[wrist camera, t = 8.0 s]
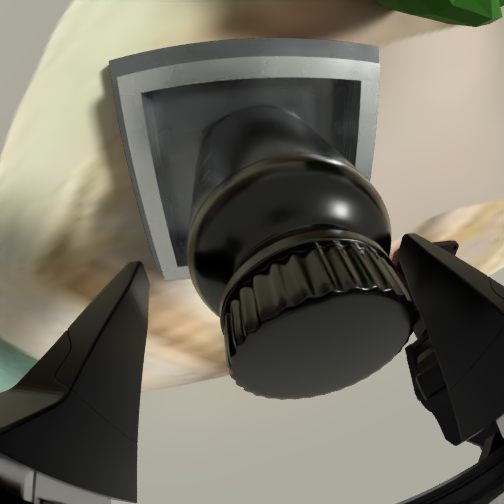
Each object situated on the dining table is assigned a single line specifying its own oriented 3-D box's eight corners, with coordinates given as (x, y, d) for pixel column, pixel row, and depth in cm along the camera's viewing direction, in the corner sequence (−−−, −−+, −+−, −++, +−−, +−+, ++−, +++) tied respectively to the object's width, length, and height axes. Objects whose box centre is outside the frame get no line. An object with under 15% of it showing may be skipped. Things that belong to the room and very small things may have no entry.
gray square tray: (370, 46, 13) (397, 48, 10) (351, 243, 21) (366, 270, 19) (115, 60, 12) (94, 63, 10) (160, 263, 21) (154, 293, 18)
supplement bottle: (252, 236, 19) (287, 426, 10) (171, 163, 15) (115, 364, 6) (341, 170, 17) (463, 334, 7) (269, 78, 13) (403, 159, 4)
